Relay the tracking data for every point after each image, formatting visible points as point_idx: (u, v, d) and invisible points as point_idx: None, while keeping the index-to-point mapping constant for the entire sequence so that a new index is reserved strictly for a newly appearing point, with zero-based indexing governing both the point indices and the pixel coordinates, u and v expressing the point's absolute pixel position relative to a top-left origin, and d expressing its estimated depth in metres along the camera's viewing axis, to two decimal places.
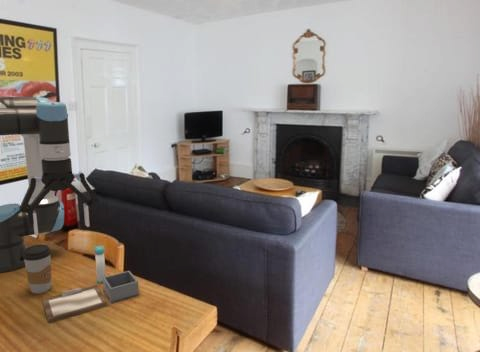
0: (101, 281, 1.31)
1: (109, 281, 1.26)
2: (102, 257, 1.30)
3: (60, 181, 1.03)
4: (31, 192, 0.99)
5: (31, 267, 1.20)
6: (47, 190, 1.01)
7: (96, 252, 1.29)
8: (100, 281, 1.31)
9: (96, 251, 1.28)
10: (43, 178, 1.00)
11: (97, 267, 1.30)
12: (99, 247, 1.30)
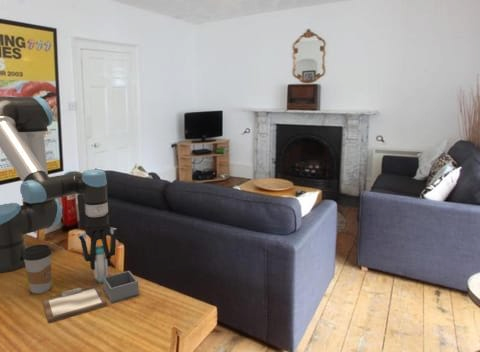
0: (101, 281, 1.31)
1: (109, 281, 1.26)
2: (102, 257, 1.30)
3: (100, 231, 1.28)
4: (85, 245, 1.26)
5: (31, 267, 1.20)
6: (94, 241, 1.27)
7: (96, 252, 1.29)
8: (100, 281, 1.31)
9: (96, 251, 1.28)
10: (86, 232, 1.25)
11: (97, 267, 1.30)
12: (99, 247, 1.30)
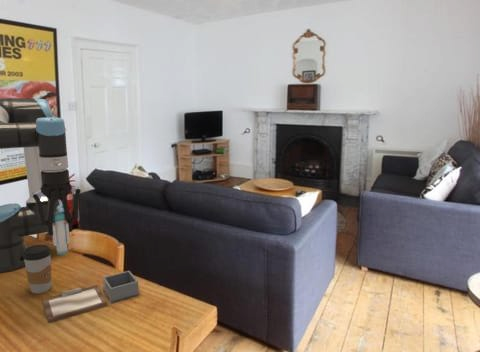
0: (62, 252, 1.13)
1: (109, 281, 1.26)
2: (62, 224, 1.12)
3: (58, 190, 1.10)
4: (40, 206, 1.07)
5: (31, 267, 1.20)
6: (52, 201, 1.09)
7: (55, 218, 1.11)
8: (61, 252, 1.13)
9: (55, 217, 1.11)
10: (42, 190, 1.07)
11: (57, 236, 1.12)
12: (59, 213, 1.12)
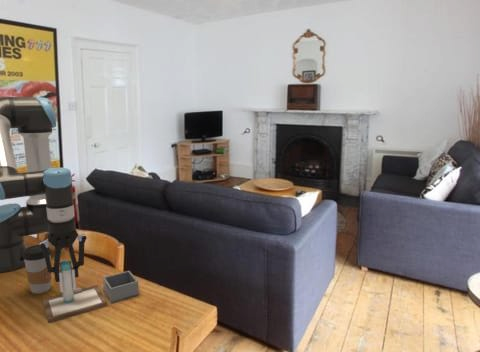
0: (68, 300, 1.16)
1: (109, 281, 1.26)
2: (69, 274, 1.14)
3: (65, 238, 1.12)
4: (47, 255, 1.10)
5: (31, 267, 1.20)
6: (58, 250, 1.11)
7: (61, 268, 1.13)
8: (67, 300, 1.16)
9: (61, 267, 1.13)
10: (49, 239, 1.10)
11: (63, 285, 1.15)
12: (65, 262, 1.14)
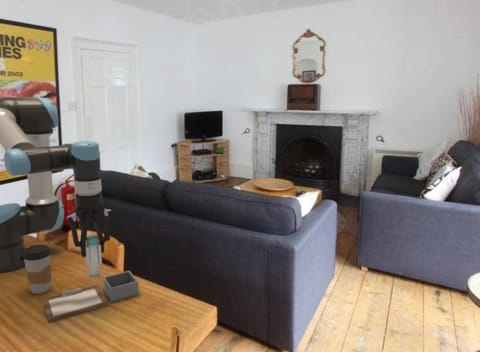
0: (94, 276, 1.15)
1: (109, 281, 1.26)
2: (95, 248, 1.14)
3: (92, 212, 1.11)
4: (75, 229, 1.09)
5: (31, 267, 1.20)
6: (86, 224, 1.10)
7: (88, 243, 1.12)
8: (93, 276, 1.15)
9: (88, 241, 1.12)
10: (76, 213, 1.09)
11: (89, 260, 1.14)
12: (92, 237, 1.14)
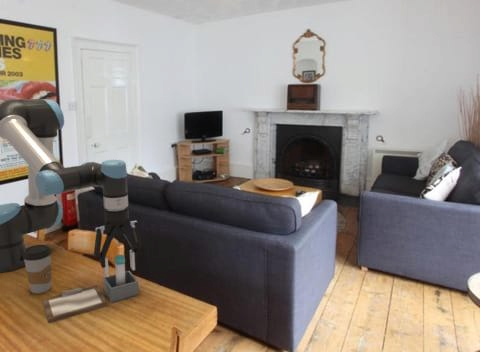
0: None
1: (109, 281, 1.26)
2: (123, 267, 1.22)
3: (119, 226, 1.19)
4: (100, 240, 1.16)
5: (31, 267, 1.20)
6: (111, 237, 1.17)
7: (117, 262, 1.20)
8: None
9: (117, 261, 1.20)
10: (105, 226, 1.16)
11: (117, 277, 1.22)
12: (120, 256, 1.21)
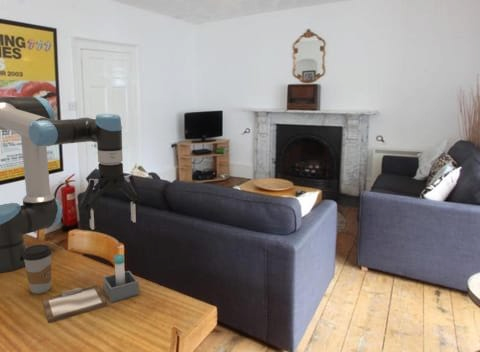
0: None
1: (109, 281, 1.26)
2: (122, 266, 1.22)
3: (113, 182, 1.18)
4: (90, 192, 1.15)
5: (31, 267, 1.20)
6: (103, 190, 1.16)
7: (116, 261, 1.21)
8: None
9: (116, 260, 1.21)
10: (100, 180, 1.16)
11: (117, 277, 1.22)
12: (119, 256, 1.22)
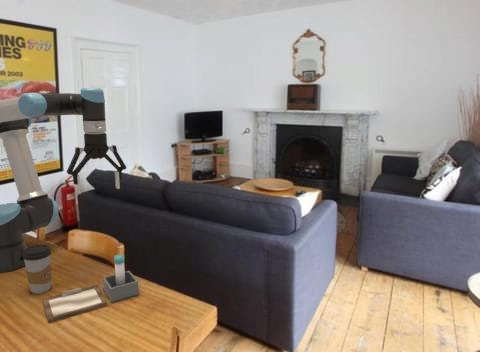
0: None
1: (109, 281, 1.26)
2: (122, 266, 1.22)
3: (98, 151, 1.30)
4: (76, 159, 1.26)
5: (31, 267, 1.20)
6: (88, 158, 1.28)
7: (116, 261, 1.21)
8: None
9: (116, 260, 1.21)
10: (85, 148, 1.27)
11: (117, 277, 1.22)
12: (119, 256, 1.22)
